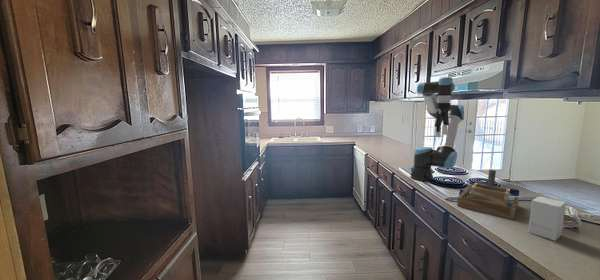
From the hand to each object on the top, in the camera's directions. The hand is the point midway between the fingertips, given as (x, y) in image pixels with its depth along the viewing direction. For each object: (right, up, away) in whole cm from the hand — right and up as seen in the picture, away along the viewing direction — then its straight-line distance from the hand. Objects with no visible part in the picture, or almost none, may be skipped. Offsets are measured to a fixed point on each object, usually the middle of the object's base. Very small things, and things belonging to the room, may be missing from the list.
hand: (441, 136), depth 164 cm
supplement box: (+15, -44, -53) cm, 70 cm away
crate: (+16, -36, -21) cm, 44 cm away
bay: (+12, -39, -24) cm, 47 cm away
